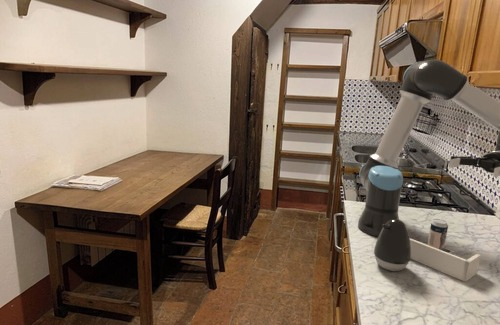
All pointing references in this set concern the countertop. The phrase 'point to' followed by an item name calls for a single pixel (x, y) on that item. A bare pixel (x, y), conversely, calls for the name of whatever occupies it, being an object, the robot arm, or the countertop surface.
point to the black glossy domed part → (393, 246)
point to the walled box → (444, 260)
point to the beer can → (438, 234)
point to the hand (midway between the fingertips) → (471, 167)
